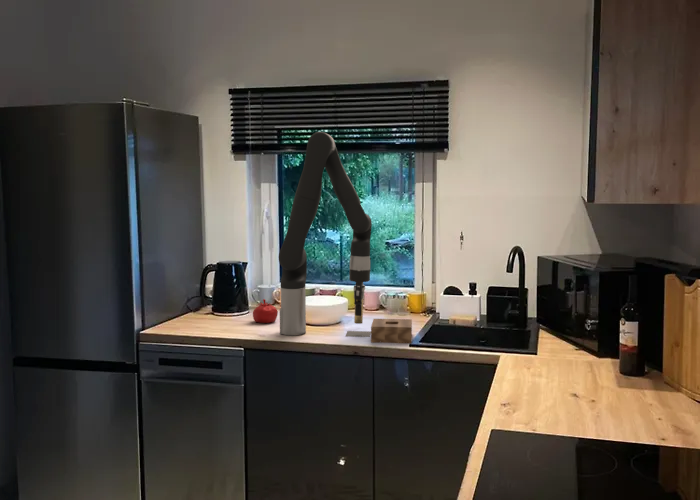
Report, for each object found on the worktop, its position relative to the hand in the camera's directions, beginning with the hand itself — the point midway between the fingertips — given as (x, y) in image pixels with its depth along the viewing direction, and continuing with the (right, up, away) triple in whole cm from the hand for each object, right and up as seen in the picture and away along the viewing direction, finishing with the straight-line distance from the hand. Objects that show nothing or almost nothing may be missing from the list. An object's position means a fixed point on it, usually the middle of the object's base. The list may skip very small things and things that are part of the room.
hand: (358, 314), depth 246 cm
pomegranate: (-37, -6, +25) cm, 45 cm away
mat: (0, -8, +1) cm, 8 cm away
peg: (0, -3, 0) cm, 3 cm away
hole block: (+12, -8, -6) cm, 16 cm away
